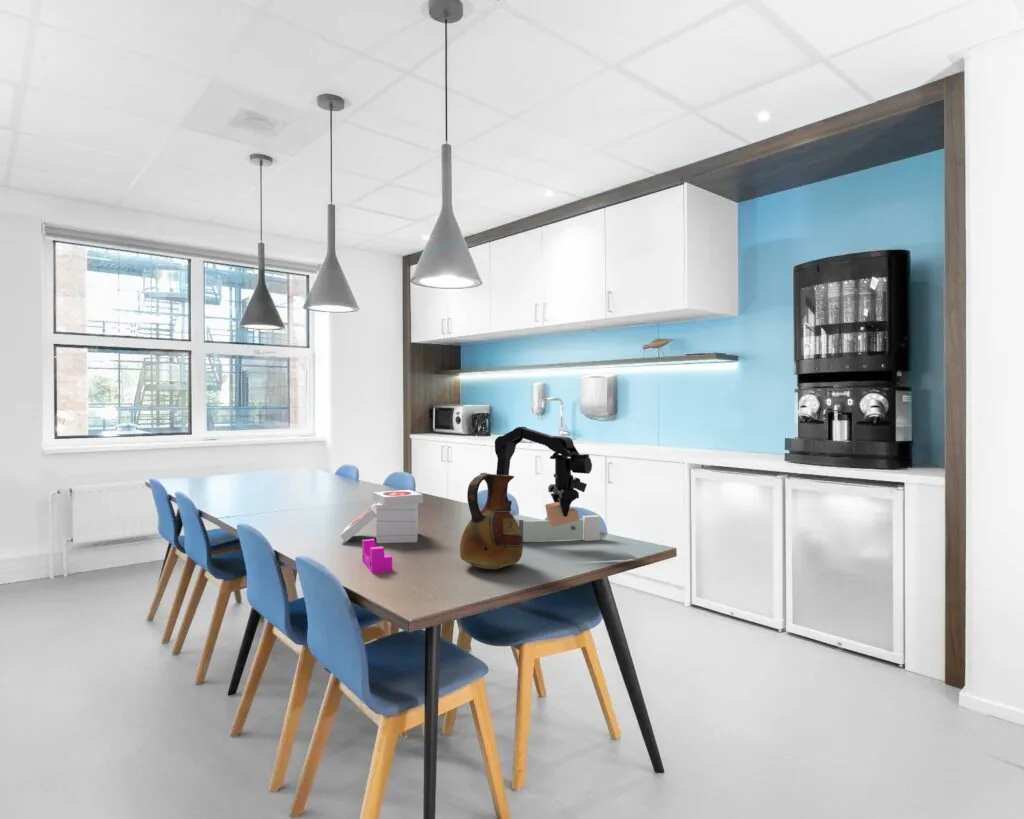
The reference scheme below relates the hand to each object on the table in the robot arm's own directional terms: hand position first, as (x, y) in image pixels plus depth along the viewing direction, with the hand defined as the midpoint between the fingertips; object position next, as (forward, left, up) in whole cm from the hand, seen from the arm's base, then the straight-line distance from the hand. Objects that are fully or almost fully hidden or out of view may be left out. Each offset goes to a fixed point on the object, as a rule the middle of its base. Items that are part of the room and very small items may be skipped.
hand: (562, 515), depth 222 cm
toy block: (-66, -12, -12) cm, 68 cm away
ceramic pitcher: (-30, -20, -12) cm, 38 cm away
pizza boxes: (-63, +26, -12) cm, 70 cm away
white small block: (-13, +11, -12) cm, 21 cm away
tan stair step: (0, 0, -2) cm, 2 cm away
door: (-13, +11, -12) cm, 21 cm away
